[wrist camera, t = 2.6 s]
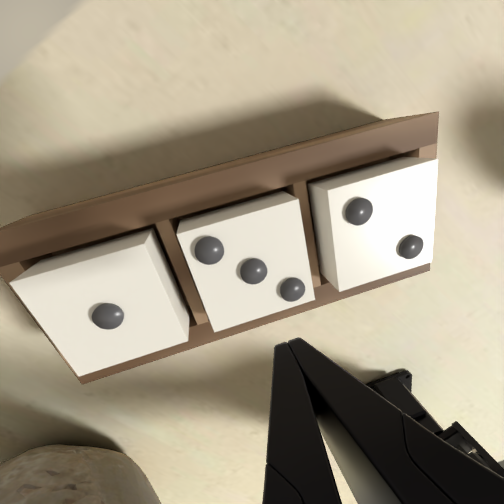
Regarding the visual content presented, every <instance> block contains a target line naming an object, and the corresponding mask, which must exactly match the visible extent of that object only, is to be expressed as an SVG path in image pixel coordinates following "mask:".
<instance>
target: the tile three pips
mask: <svg viewBox="0 0 504 504" xmlns="http://www.w3.org/2000/svg"><path fill="white" fill-rule="evenodd" d="M176 235H177V237H178V240H179V242H180V245H181V248H182V250H183V253H184V255H185V258H186V260H187V263H188V266H189V268H190V271H191V273H192V276H193V279H194V281H195V284H196V286H197V289H198V291H199V294H200V297H201V299H202V302H203V304H204V307H205V310H206V312H207V315H208V317H209V320H210V322H211V325H212V328H213V330H214V333H215V332H218V331H221V330H224V329H227V328H230V327H233V326H236V325H239V324H242V323H245V322H248V321H252V320H255V319H258V318H261V317H264V316H267V315H270V314H273V313H276V312H279V311H282V310H285V309H288V308H291V307H295V306H298V305H301V304H304V303H307V302H310V301H313V300H315V296H314V290H313V284H312V278H311V272H310V266H309V260H308V254H307V247H306V241H305V235H304V229H303V223H302V217H301V211H300V205H299V199H298V198H296V197H294V196H292V195H290V194H288V193H286V192H284V191H281V192H278V193H274V194H271V195H267V196H264V197H260V198H257V199H253V200H250V201H246V202H243V203H239V204H236V205H232V206H229V207H225V208H222V209H218V210H215V211H211V212H208V213H204V214H201V215H197V216H194V217H190V218H187V219H183V220H180V222H179V226H178V230H177V234H176Z"/></svg>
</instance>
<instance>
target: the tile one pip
mask: <svg viewBox="0 0 504 504" xmlns="http://www.w3.org/2000/svg"><path fill="white" fill-rule="evenodd" d="M9 284H10V285H11V286H12V288H13V289H14V290H15V292H16V293H17V294H18V296H19V297H20V298H21V300H22V301H23V302H24V304H25V305H26V307H27V308H28V309H29V311H30V312H31V313H32V315H33V316H34V317H35V319H36V320H37V321H38V323H39V324H40V325H41V327H42V328H43V329H44V331H45V332H46V334H47V335H48V336H49V338H50V339H51V340H52V342H53V343H54V344H55V346H56V347H57V348H58V350H59V351H60V352H61V354H62V355H63V356H64V358H65V359H66V361H67V362H68V363H69V365H70V366H71V367H72V369H73V370H74V371H75V373H76V374H77V375H78V377H79V376H82V375H85V374H89V373H92V372H95V371H98V370H101V369H104V368H107V367H110V366H113V365H116V364H119V363H122V362H125V361H128V360H132V359H135V358H138V357H141V356H144V355H147V354H150V353H153V352H156V351H159V350H162V349H165V348H168V347H172V346H175V345H178V344H181V343H184V342H187V341H188V335H189V316H190V314H189V312H188V309H187V307H186V305H185V302H184V300H183V298H182V295H181V293H180V291H179V288H178V286H177V283H176V281H175V279H174V276H173V274H172V272H171V269H170V267H169V265H168V262H167V260H166V257H165V255H164V253H163V250H162V248H161V246H160V243H159V241H158V238H157V236H156V234H155V231H154V229H153V228H151V229H148V230H144V231H141V232H137V233H134V234H130V235H127V236H123V237H120V238H116V239H113V240H109V241H106V242H102V243H99V244H95V245H92V246H88V247H85V248H81V249H78V250H74V251H71V252H67V253H64V254H60V255H57V256H53V257H50V258H46V259H43V260H40V261H39V262H37V263H36V264H35V265H33V266H32V267H30V268H29V269H28V270H26V271H25V272H23V273H22V274H21V275H19V276H18V277H17V278H15V279H14V280H12V281H11V282H10V283H9Z"/></svg>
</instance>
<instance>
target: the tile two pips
mask: <svg viewBox="0 0 504 504" xmlns="http://www.w3.org/2000/svg"><path fill="white" fill-rule="evenodd" d="M437 173H438V158H417V157H400V158H397V159H393V160H390V161H386V162H383V163H379V164H376V165H372V166H369V167H365V168H362V169H358V170H355V171H351V172H348V173H344V174H341V175H337V176H334V177H330V178H327V179H323V180H320V181H316V182H313V183H309V184H308V189H309V196H310V203H311V210H312V217H313V224H314V231H315V237H316V244H317V251H318V258H319V265H320V272H321V274H322V275H323V276H324V277H325V278H326V279H327V280H328V281H329V282H330V283H331V284H332V285H333V286H334V287H335V288H336V289H337V290H338V291H339V292H341V291H344V290H347V289H350V288H353V287H356V286H359V285H362V284H365V283H368V282H371V281H375V280H378V279H381V278H384V277H387V276H390V275H393V274H396V273H399V272H402V271H405V270H408V269H411V268H415V267H418V266H421V265H424V264H427V263H430V262H432V255H433V238H434V222H435V205H436V189H437Z"/></svg>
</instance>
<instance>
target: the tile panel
mask: <svg viewBox="0 0 504 504" xmlns="http://www.w3.org/2000/svg"><path fill="white" fill-rule="evenodd" d="M438 118H439V112H433V113H426V114H419V115H412V116H406V117H399V118H392V119H385V120H381V121H377V122H374V123H370V124H366V125H363V126H359V127H355V128H351V129H348V130H344V131H340V132H337V133H333V134H329V135H326V136H322V137H318V138H315V139H311V140H307V141H303V142H300V143H296V144H292V145H289V146H285V147H281V148H278V149H274V150H270V151H267V152H263V153H259V154H255V155H252V156H248V157H244V158H241V159H237V160H233V161H230V162H226V163H222V164H219V165H215V166H211V167H207V168H204V169H200V170H196V171H193V172H189V173H185V174H182V175H178V176H174V177H171V178H167V179H163V180H159V181H156V182H152V183H148V184H145V185H141V186H137V187H134V188H130V189H126V190H123V191H119V192H115V193H112V194H108V195H104V196H100V197H97V198H93V199H89V200H86V201H82V202H78V203H75V204H71V205H67V206H64V207H60V208H56V209H52V210H49V211H45V212H41V213H38V214H34V215H31V216H28V217H26V218H23V219H21V220H18V221H16V222H13V223H11V224H8V225H6V226H4V227H1V228H0V275H1V277H2V278H3V279H4V281H5V282H6V283H7V285H8V286H9V287H10V289H11V290H12V291H13V293H14V294H15V295H16V297H17V298H18V299H19V301H20V302H21V303H22V305H23V306H24V307H25V309H26V310H27V311H28V313H29V314H30V315H31V317H32V318H33V319H34V321H35V322H36V323H37V325H38V326H39V327H40V329H41V330H42V331H43V333H44V334H45V335H46V337H47V338H48V339H49V341H50V342H51V344H52V345H53V346H54V348H55V349H56V350H57V352H58V353H59V354H60V356H61V357H62V358H63V360H64V361H65V362H66V364H67V365H68V366H69V368H70V369H71V370H72V372H73V373H74V374H75V376H76V377H77V378H78V380H79V381H80V382H81V384H85V383H88V382H91V381H94V380H97V379H101V378H104V377H107V376H110V375H113V374H116V373H119V372H122V371H125V370H128V369H131V368H134V367H137V366H140V365H143V364H146V363H149V362H152V361H155V360H158V359H161V358H165V357H168V356H171V355H174V354H177V353H180V352H183V351H186V350H189V349H192V348H195V347H198V346H201V345H204V344H207V343H210V342H213V341H216V340H219V339H222V338H226V337H229V336H232V335H235V334H238V333H241V332H244V331H247V330H250V329H253V328H256V327H259V326H262V325H265V324H268V323H271V322H274V321H277V320H280V319H283V318H287V317H290V316H293V315H296V314H299V313H302V312H305V311H308V310H311V309H314V308H317V307H320V306H323V305H326V304H329V303H332V302H335V301H338V300H341V299H344V298H347V297H351V296H354V295H357V294H360V293H363V292H366V291H369V290H372V289H375V288H378V287H381V286H384V285H387V284H390V283H393V282H396V281H399V280H402V279H405V278H408V277H412V276H415V275H418V274H421V273H424V272H427V271H430V263H427V264H424V265H421V266H418V267H415V268H411V269H408V270H405V271H402V272H399V273H396V274H393V275H390V276H387V277H384V278H381V279H378V280H375V281H371V282H368V283H365V284H362V285H359V286H356V287H353V288H350V289H347V290H344V291H341V292H339V291H338V290H337V289H336V288H335V287H334V286H333V285H332V284H331V283H330V282H329V281H328V280H327V279H326V278H325V277H324V276H323V275H322V274H321V272H320V265H319V258H318V251H317V244H316V237H315V231H314V224H313V217H312V210H311V203H310V196H309V189H308V184H309V183H313V182H316V181H320V180H323V179H327V178H330V177H334V176H337V175H341V174H344V173H348V172H351V171H355V170H358V169H362V168H365V167H369V166H372V165H376V164H379V163H383V162H386V161H390V160H393V159H397V158H400V157H417V158H436V153H437V136H438ZM281 191H284V192H286V193H288V194H290V195H292V196H294V197H296V198H298V199H299V205H300V211H301V217H302V223H303V229H304V235H305V241H306V247H307V254H308V260H309V266H310V272H311V278H312V284H313V290H314V296H315V300H313V301H310V302H307V303H304V304H301V305H298V306H295V307H291V308H288V309H285V310H282V311H279V312H276V313H273V314H270V315H267V316H264V317H261V318H258V319H255V320H252V321H248V322H245V323H242V324H239V325H236V326H233V327H230V328H227V329H224V330H221V331H218V332H215V333H214V330H213V328H212V325H211V322H210V320H209V317H208V315H207V312H206V310H205V307H204V304H203V302H202V299H201V297H200V294H199V291H198V289H197V286H196V284H195V281H194V279H193V276H192V273H191V271H190V268H189V266H188V263H187V260H186V258H185V255H184V253H183V250H182V248H181V245H180V242H179V240H178V237H177V235H176V234H177V230H178V226H179V222H180V220H183V219H187V218H190V217H194V216H197V215H201V214H204V213H208V212H211V211H215V210H218V209H222V208H225V207H229V206H232V205H236V204H239V203H243V202H246V201H250V200H253V199H257V198H260V197H264V196H267V195H271V194H274V193H278V192H281ZM151 228H153V229H154V231H155V234H156V236H157V238H158V241H159V243H160V246H161V248H162V250H163V253H164V255H165V257H166V260H167V262H168V265H169V267H170V269H171V272H172V274H173V276H174V279H175V281H176V283H177V286H178V288H179V291H180V293H181V295H182V298H183V300H184V302H185V305H186V307H187V309H188V312H189V314H190V316H189V335H188V341H187V342H184V343H181V344H178V345H175V346H172V347H168V348H165V349H162V350H159V351H156V352H153V353H150V354H147V355H144V356H141V357H138V358H135V359H132V360H128V361H125V362H122V363H119V364H116V365H113V366H110V367H107V368H104V369H101V370H98V371H95V372H92V373H89V374H85V375H82V376H79V377H78V375H77V374H76V373H75V371H74V370H73V369H72V367H71V366H70V365H69V363H68V362H67V361H66V359H65V358H64V356H63V355H62V354H61V352H60V351H59V350H58V348H57V347H56V346H55V344H54V343H53V342H52V340H51V339H50V338H49V336H48V335H47V334H46V332H45V331H44V329H43V328H42V327H41V325H40V324H39V323H38V321H37V320H36V319H35V317H34V316H33V315H32V313H31V312H30V311H29V309H28V308H27V307H26V305H25V304H24V302H23V301H22V300H21V298H20V297H19V296H18V294H17V293H16V292H15V290H14V289H13V288H12V286H11V285H10V284H9V283H10V282H11V281H12V280H14V279H15V278H17V277H18V276H19V275H21V274H22V273H23V272H25V271H26V270H28V269H29V268H30V267H32V266H33V265H35V264H36V263H37V262H39V261H40V260H43V259H46V258H50V257H53V256H57V255H60V254H64V253H67V252H71V251H74V250H78V249H81V248H85V247H88V246H92V245H95V244H99V243H102V242H106V241H109V240H113V239H116V238H120V237H123V236H127V235H130V234H134V233H137V232H141V231H144V230H148V229H151Z"/></svg>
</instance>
